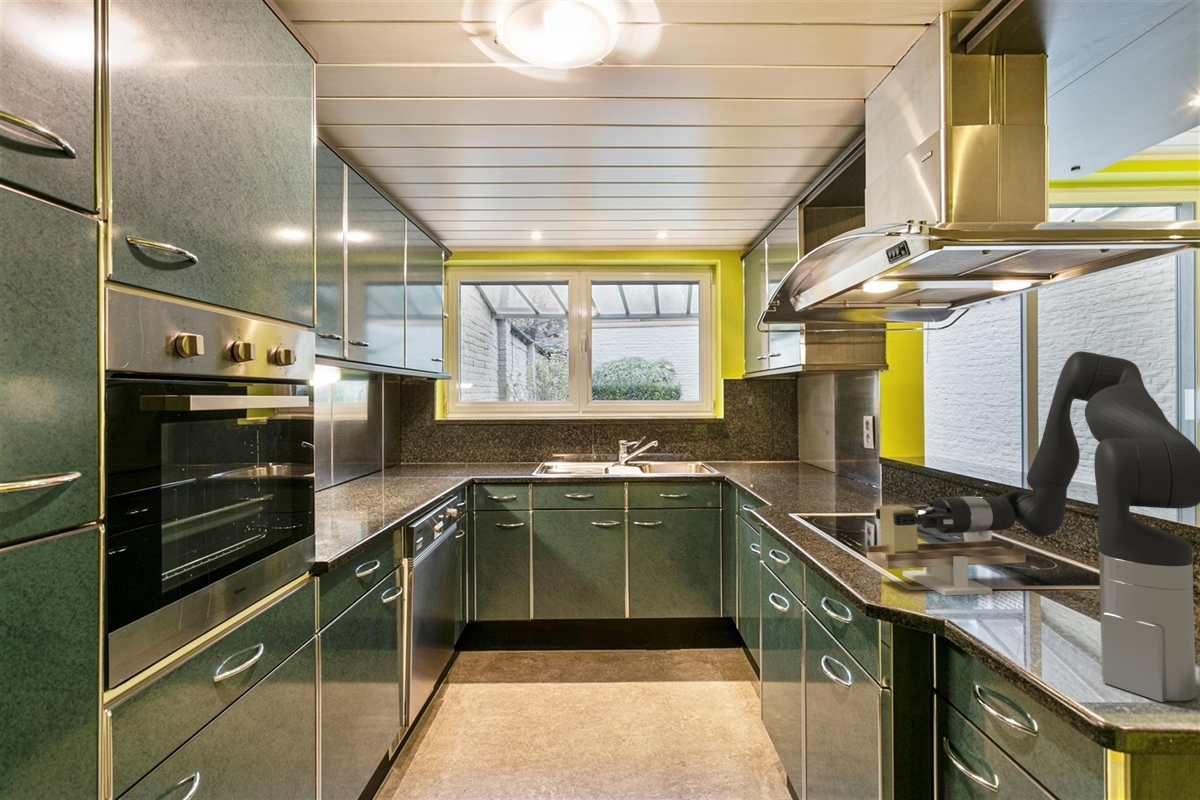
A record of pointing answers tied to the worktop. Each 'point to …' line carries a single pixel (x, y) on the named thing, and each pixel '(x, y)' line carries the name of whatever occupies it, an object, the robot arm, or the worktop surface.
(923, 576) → the beam stand
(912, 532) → the block
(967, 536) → the beer glass
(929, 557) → the balance beam
